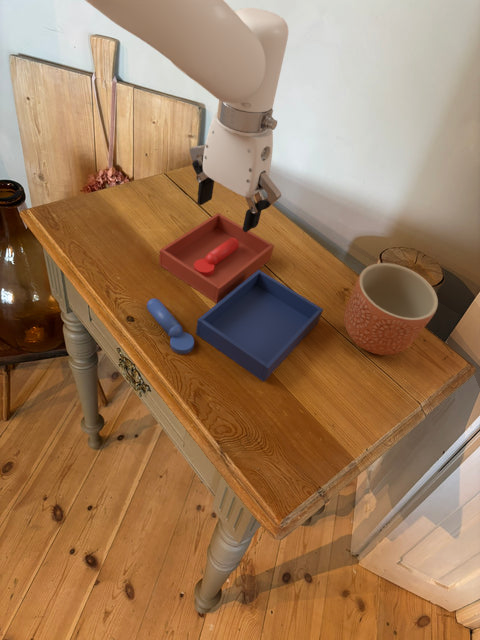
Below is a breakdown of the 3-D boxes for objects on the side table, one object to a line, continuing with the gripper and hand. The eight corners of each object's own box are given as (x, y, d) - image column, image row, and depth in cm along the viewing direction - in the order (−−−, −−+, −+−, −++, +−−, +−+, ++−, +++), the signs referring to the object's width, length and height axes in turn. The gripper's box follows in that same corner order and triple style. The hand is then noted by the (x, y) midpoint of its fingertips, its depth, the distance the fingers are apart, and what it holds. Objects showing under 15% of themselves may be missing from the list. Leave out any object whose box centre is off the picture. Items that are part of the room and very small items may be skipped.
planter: (374, 377, 72) (403, 332, 64) (321, 324, 78) (342, 276, 70) (423, 346, 78) (455, 302, 70) (370, 299, 84) (394, 253, 76)
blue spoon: (140, 310, 74) (140, 300, 72) (159, 302, 76) (160, 291, 74) (178, 357, 69) (179, 347, 67) (198, 348, 70) (199, 338, 69)
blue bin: (195, 334, 72) (197, 319, 70) (255, 283, 82) (258, 269, 79) (263, 382, 68) (268, 368, 65) (317, 323, 78) (323, 309, 75)
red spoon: (227, 242, 88) (229, 232, 86) (242, 251, 87) (244, 241, 85) (189, 269, 81) (190, 258, 79) (205, 279, 80) (206, 269, 78)
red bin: (158, 265, 81) (159, 249, 79) (216, 227, 91) (218, 212, 89) (216, 303, 77) (219, 288, 75) (270, 259, 87) (274, 245, 84)
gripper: (308, 131, 65) (280, 230, 77) (213, 85, 70) (201, 184, 83) (279, 147, 60) (254, 249, 73) (180, 96, 66) (173, 199, 78)
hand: (226, 214), depth 78 cm, fingers open, 9 cm apart
